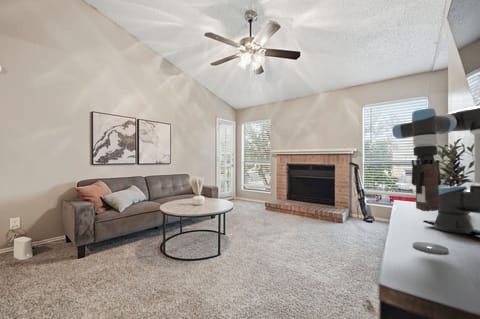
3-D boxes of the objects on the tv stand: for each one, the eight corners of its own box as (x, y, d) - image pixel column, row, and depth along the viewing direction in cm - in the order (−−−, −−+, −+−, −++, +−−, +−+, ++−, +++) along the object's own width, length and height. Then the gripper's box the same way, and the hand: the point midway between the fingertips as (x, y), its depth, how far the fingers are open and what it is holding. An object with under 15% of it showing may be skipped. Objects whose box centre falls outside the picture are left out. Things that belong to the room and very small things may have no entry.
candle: (444, 213, 86) (442, 162, 87) (423, 212, 87) (421, 162, 88) (432, 209, 93) (429, 162, 94) (412, 209, 94) (410, 163, 95)
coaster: (423, 243, 96) (423, 240, 96) (455, 251, 86) (455, 249, 86) (406, 246, 93) (406, 243, 93) (437, 255, 82) (437, 253, 82)
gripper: (430, 147, 98) (432, 199, 97) (398, 146, 92) (401, 201, 90) (451, 145, 91) (454, 201, 90) (418, 144, 84) (421, 204, 83)
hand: (427, 201), depth 90 cm, fingers closed on candle, 7 cm apart
